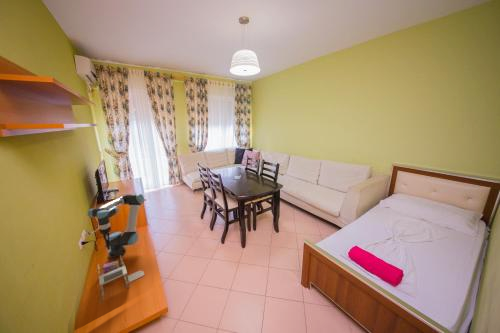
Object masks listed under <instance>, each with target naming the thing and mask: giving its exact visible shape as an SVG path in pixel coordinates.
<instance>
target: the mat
mask: <svg viewBox="0 0 500 333" xmlns="http://www.w3.org/2000/svg"><path fill="white" fill-rule="evenodd" d="M144 276H145V272H144V270H143V271H140V270H137V271H136V272H133V273H131V274H128V281H129V284H130V283H131V282H134V281H136V280H139V279H140V278H143V277H144Z"/></svg>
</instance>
